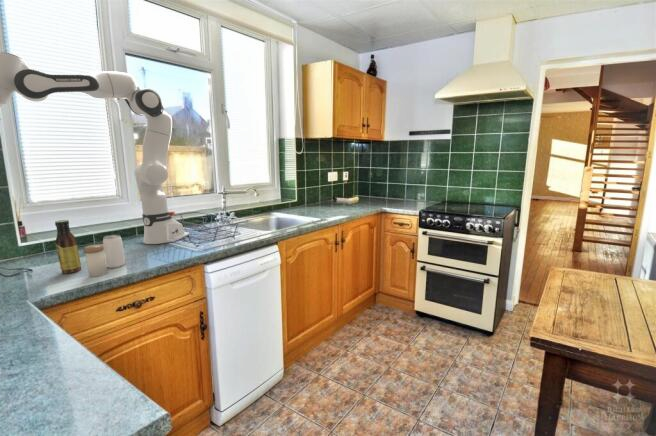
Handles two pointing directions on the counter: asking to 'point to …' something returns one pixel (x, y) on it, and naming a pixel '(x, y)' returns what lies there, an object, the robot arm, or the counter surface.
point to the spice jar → (95, 260)
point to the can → (113, 251)
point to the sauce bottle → (67, 248)
